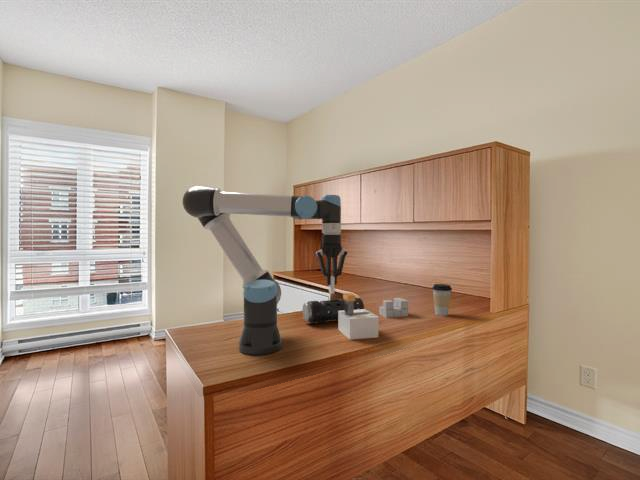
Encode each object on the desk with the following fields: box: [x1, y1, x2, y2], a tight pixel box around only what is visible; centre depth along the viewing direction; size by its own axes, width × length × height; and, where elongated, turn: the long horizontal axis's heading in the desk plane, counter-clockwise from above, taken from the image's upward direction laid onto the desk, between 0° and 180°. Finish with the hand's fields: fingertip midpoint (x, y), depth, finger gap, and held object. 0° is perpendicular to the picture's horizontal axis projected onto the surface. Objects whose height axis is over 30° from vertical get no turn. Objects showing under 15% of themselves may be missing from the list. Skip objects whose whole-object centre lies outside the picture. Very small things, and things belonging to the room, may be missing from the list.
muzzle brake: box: [301, 297, 365, 324], centre depth 152 cm, size 10×28×10 cm, turn 113°
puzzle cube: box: [378, 297, 409, 319], centre depth 166 cm, size 12×12×8 cm
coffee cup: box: [432, 283, 453, 317], centre depth 165 cm, size 9×9×15 cm
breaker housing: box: [337, 308, 380, 340], centre depth 134 cm, size 12×14×8 cm
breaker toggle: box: [342, 292, 356, 314], centre depth 133 cm, size 3×6×8 cm, turn 16°
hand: (331, 293), depth 131 cm, fingers closed
